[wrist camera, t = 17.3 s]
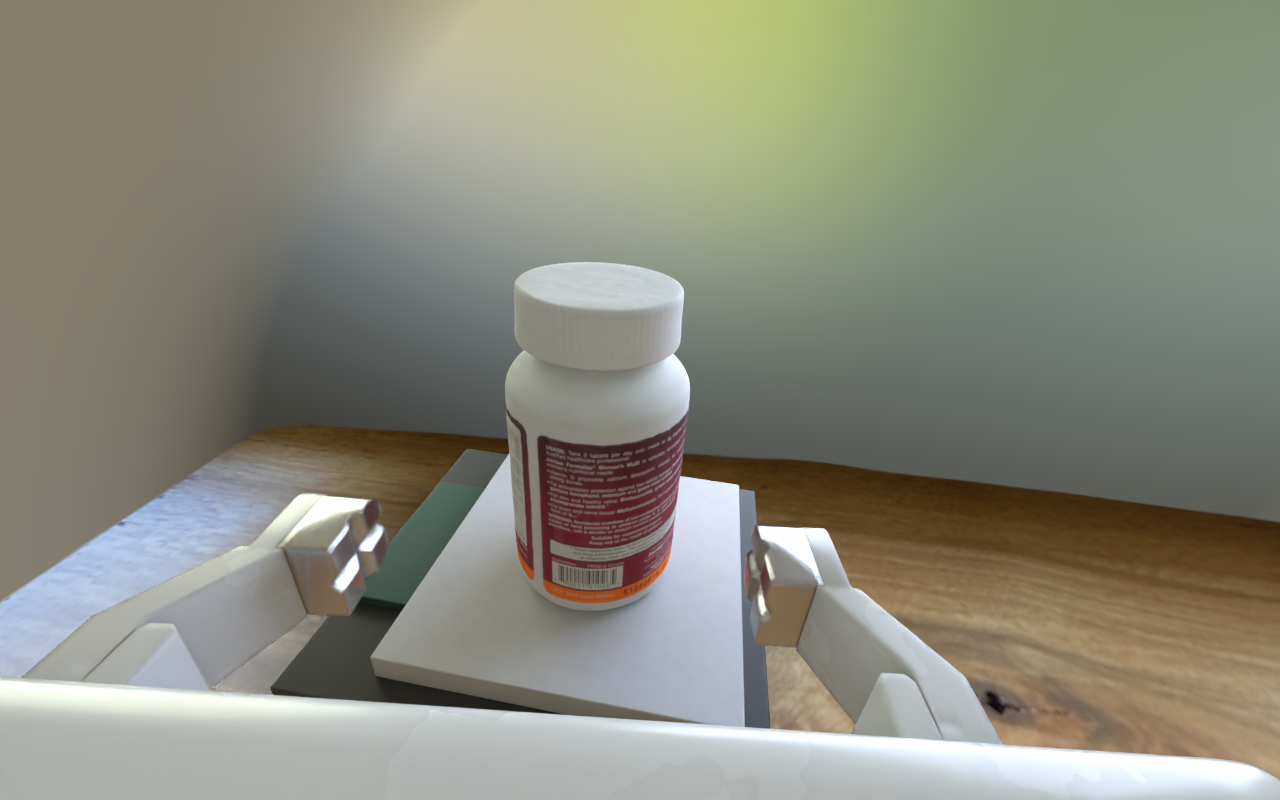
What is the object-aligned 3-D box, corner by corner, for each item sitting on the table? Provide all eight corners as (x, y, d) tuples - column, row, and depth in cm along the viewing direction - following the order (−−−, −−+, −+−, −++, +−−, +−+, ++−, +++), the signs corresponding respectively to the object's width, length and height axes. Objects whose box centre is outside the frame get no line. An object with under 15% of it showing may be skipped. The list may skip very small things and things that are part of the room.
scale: (289, 730, 17) (259, 669, 16) (470, 482, 30) (465, 432, 28) (760, 833, 16) (782, 776, 14) (747, 525, 28) (758, 475, 26)
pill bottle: (698, 553, 21) (742, 288, 16) (593, 651, 17) (604, 335, 12) (594, 487, 25) (601, 249, 19) (485, 555, 20) (454, 275, 15)
